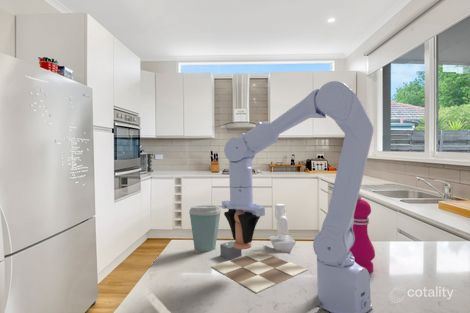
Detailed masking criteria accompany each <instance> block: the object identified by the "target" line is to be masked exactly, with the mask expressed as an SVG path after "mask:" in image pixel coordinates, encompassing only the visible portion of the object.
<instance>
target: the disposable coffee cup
mask: <svg viewBox="0 0 470 313" xmlns="http://www.w3.org/2000/svg"><path fill="white" fill-rule="evenodd" d="M221 209H222V208H221V207H220V206H219V205H215V204H214V205H212V204H204V205H203V204H202V205H195V206H194V205H193V206H191V207H190V209H189V210H188V211H189V213H188V214H189V219H190V226H191V232H192V241H193V247H194V250H195V253H196V252H197V253H196V254H198V253H200V254H202V253H207V252H211V251H214V250H216V246H217V240H218V239H217V238H218V231H219V224H220V218H221V214H222V210H221Z"/></svg>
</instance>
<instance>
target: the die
mask: <svg viewBox="0 0 470 313" xmlns="http://www.w3.org/2000/svg"><path fill="white" fill-rule="evenodd" d="M219 244H220V245H219V246H220V247H219V248H220V250H219V251H220V252H219V253H220V256H221V257H223V258H225V259H226V260H228V261H231V260H234V259H237V258H241V257H243V256H242V249H236V248H234V241H233V240H231V241H228V242H224V243H219Z"/></svg>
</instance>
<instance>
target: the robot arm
mask: <svg viewBox="0 0 470 313" xmlns="http://www.w3.org/2000/svg"><path fill="white" fill-rule="evenodd" d="M327 116H328V117H329V118H331V119H332V120H334V122H335V123H336V125H337V126H338V127H339V128H340V130H341V131H342V132H343V133H344V138H343V142H342V143H343V144H342V147H341V151H340V157H339V161H338V165H337V169H336V174H335V178H334V184H333V188H332V191H331V197H330V201H329V205H328V210H327V213H326V215H325V218H324V220H323V222H322V225H321V229H320V231H319V232H318V233H317V235H315V237H314V238H313V242H312V247H313V251H314V254H315V255H316V275H317V276H316V277H317V278H316V280H317V298H318V300H319V301H320V303H319V304H317V306H318V307H319V308H321V309H323V310H326V311H327V312H330V313H367V312H369V311H370V310H371V309H372V308H373V304H372V301H371V300H372V299H371V298H372V297H371V276H370V273H369V272H368V270H367V269H365V268H364V267H361V266H360V265H358V264H357V263H356V262H355V258H354V257H353V255H352V253H351V251H350V248H351V247H352V246H353V244H354V241H355V237H354V233H353V223H354V212H355V208H356V204H357V200H358V195H359V194H360V190H361V186H362V182H363V177H364V173H365V169H366V165H367V160H368V156H369V152H370V148H371V143H372V141H373V135H374V125H373V123H372V121H371V119H370V117H369V115H368V112H367V111H366V108H365V107H364V104H363V102H362V100H360V98H359V97H358V95H357V94H356V93H355V92H354V90H352V89H351V88H350V87H349V86H348V85H347V84H346V83H344V82H341V81H339V80H338V81H337V80H332V81H328V82H326V83H325V84H323V85H322V86H321V87H320V88H317V89H314V90H312V91H311V92H310V93H308V94H307V96H305V97H304V98H303V99H302V100H300V101H299V102H297V103H296V104H295V105H293V106H292V107H291V108H289V109H288V110H287V111H285V112H284V113H282V114H281V115H279V116H278V117H277V118H276V119H274V120H273V121H271V122H269V121H266V120H265V121H262V122H261V121H258V122H256V123H255V124H254V127H253V128H252V129H250V130H248V131H247V132H242V133H240V136H239V137H230V138H229V140H227V142H226V143H225V145H224V150H223V151H224V155H225V158H226V159H227V160H228V163H229V164H228V165H229V166H228V175H229V200H222V201H221V209H223V210H224V209H225V210H227V211H225V212H223V215H224V216H225V218H226V221H227V223H228V225H229V227H230V230H231V235H232V238H233V240H234V241H236V235H235V222H236V221H235V219H234V215H235V213H236V211H237V210H243V211H244V212H245V214H241V215H238V218H239V220H240V223H241V227H242V236H243V242H244V243H245V244H247V243H250V242H251V243H252V241H253V237H254V233H255V229H256V227H257V224H258V222H259V220H260V218H261V217H264V216H266V213H265V211H266V209H265V206H261V205H259V204H256V203H254V200H253V198H254V196H253V195H254V194H253V160H254V158H255V157H256V155H257V154H259V153H260V152H262V151H263V150H266V149H267V148H269V147H271V146H272V145H274V144H276V143H277V142H278V139H279V136H280V134H283V133H285V132H286V131H288V130H290V129H292V128H293V127H296V126H298V125H299V124H301V123H304V121H306V120H309V119H326V118H327Z"/></svg>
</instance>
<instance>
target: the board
mask: <svg viewBox="0 0 470 313" xmlns="http://www.w3.org/2000/svg"><path fill="white" fill-rule="evenodd" d="M210 267H211V268H212V269H214V270H215V271H217V272H218V273H220V274H223V275H224V276H226V277H227V278H228V279H230V280H233V281H234V282H236V283H238V284H239V285H241V286H243V287H244V288H246V289H248V290H250V291H251V292H252V293H255V294H259V293H261V292H263V291H265V290H267V289H269V288H272V287H274V286H276V285H278V284H280V283H283V282H285V281H287V280H290V279H291V278H294V277H296V276H298V275H300V274H303V273H304V272H307V271H308V270H309V269H308V268H307V267H303V266H301V265H299V264H295V263H293V262H291V261H286V260H283V259H281V258H278V257H276V256H274V255H273V254H269V253H267V252H265V251H262V250H258V251H255V252H252V253H249V254H245V255H244V256H240V257H237V258H234V259H231V260H227V261H226V260H225V261H223V262H221V263H218V264H214V265H212V266H210Z"/></svg>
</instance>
